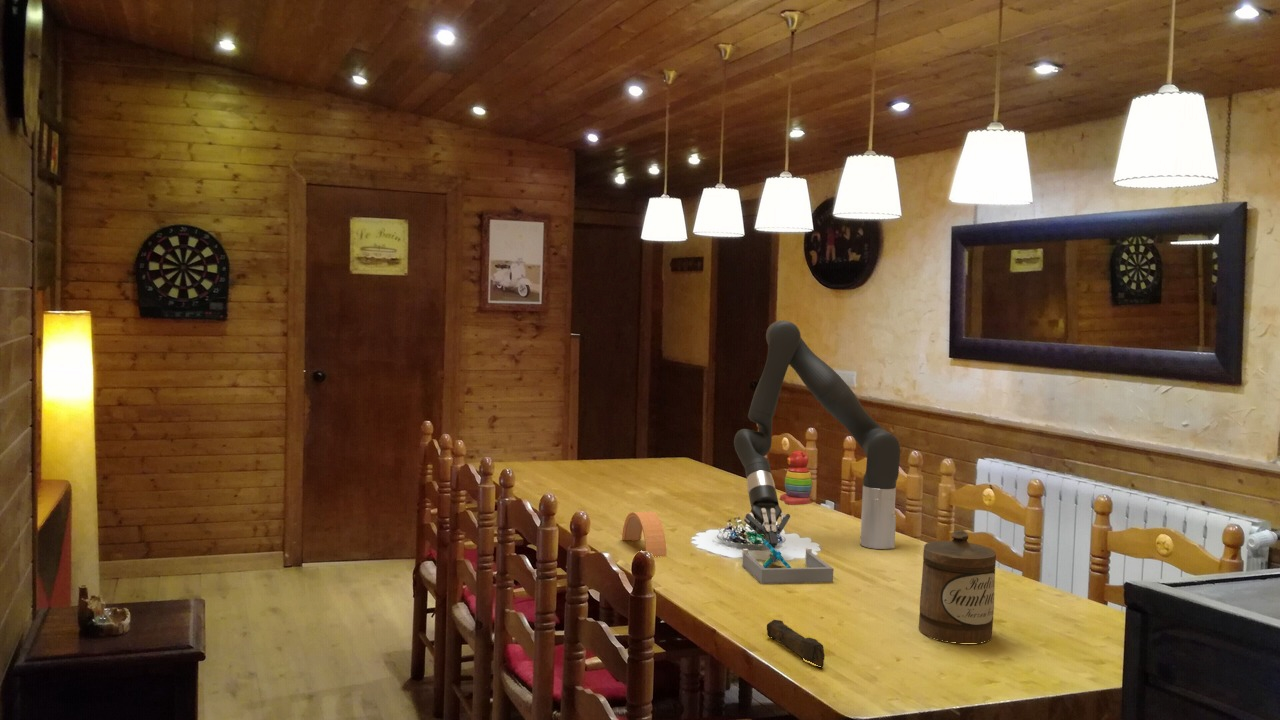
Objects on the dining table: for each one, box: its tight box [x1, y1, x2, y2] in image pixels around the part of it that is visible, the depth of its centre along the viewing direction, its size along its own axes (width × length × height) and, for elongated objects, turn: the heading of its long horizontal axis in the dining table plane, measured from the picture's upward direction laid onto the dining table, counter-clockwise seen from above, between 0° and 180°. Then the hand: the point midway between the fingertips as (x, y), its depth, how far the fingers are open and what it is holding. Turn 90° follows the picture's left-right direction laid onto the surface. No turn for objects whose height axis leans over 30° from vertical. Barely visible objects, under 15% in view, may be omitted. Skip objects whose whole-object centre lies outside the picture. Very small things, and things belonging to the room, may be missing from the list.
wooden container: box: [918, 529, 997, 644], centre depth 210 cm, size 15×15×22 cm
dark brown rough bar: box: [766, 619, 826, 668], centre depth 196 cm, size 19×4×5 cm, turn 18°
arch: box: [621, 511, 667, 558], centre depth 274 cm, size 6×20×10 cm, turn 20°
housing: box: [741, 547, 834, 585], centre depth 253 cm, size 17×18×4 cm
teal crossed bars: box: [762, 539, 792, 568], centre depth 257 cm, size 11×6×10 cm
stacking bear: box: [779, 449, 813, 506], centre depth 346 cm, size 11×10×18 cm
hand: (772, 546), depth 262 cm, fingers closed
